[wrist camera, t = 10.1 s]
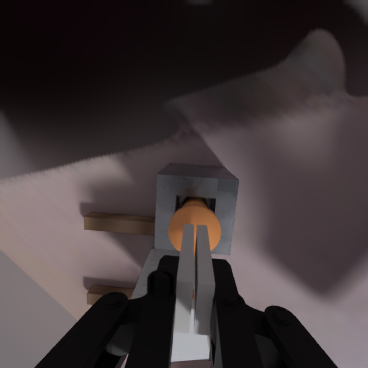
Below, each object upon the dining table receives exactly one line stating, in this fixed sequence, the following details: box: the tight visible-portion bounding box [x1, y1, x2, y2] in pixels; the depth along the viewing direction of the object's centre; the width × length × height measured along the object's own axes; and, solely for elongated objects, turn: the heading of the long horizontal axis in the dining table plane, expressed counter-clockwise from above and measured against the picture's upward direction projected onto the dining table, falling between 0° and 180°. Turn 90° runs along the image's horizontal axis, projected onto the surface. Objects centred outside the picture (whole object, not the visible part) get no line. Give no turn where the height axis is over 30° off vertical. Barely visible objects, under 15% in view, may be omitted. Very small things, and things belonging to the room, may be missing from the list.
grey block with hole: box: [154, 163, 239, 255], centre depth 26 cm, size 8×8×10 cm
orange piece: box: [168, 196, 221, 256], centre depth 21 cm, size 4×4×7 cm
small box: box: [131, 249, 210, 362], centre depth 27 cm, size 8×6×13 cm
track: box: [84, 212, 155, 305], centre depth 33 cm, size 20×15×2 cm
